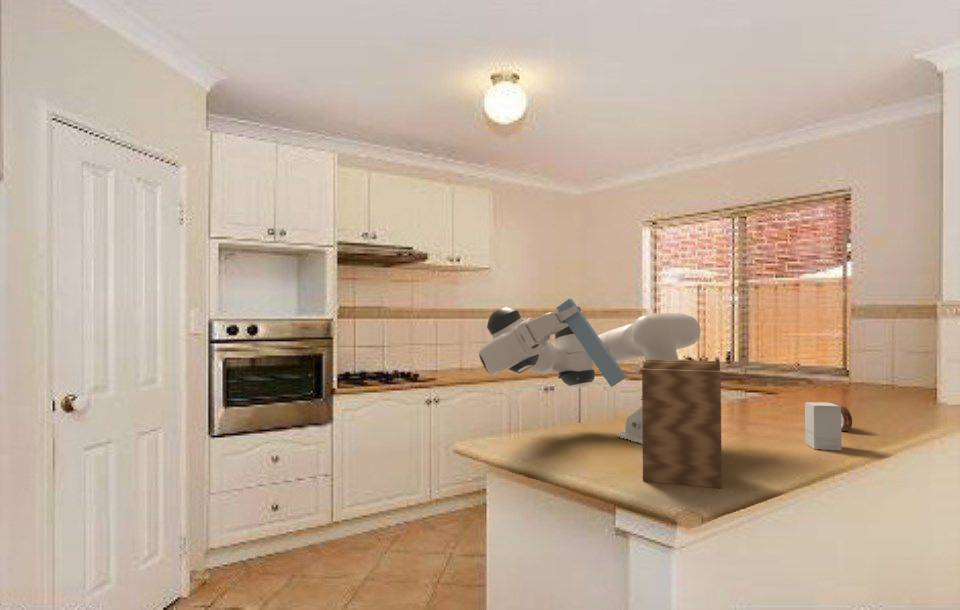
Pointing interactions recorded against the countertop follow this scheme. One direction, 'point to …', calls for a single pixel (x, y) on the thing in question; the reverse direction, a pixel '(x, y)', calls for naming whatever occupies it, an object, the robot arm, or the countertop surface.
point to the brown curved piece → (845, 418)
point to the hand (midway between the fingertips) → (578, 308)
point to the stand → (682, 422)
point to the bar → (593, 345)
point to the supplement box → (823, 425)
